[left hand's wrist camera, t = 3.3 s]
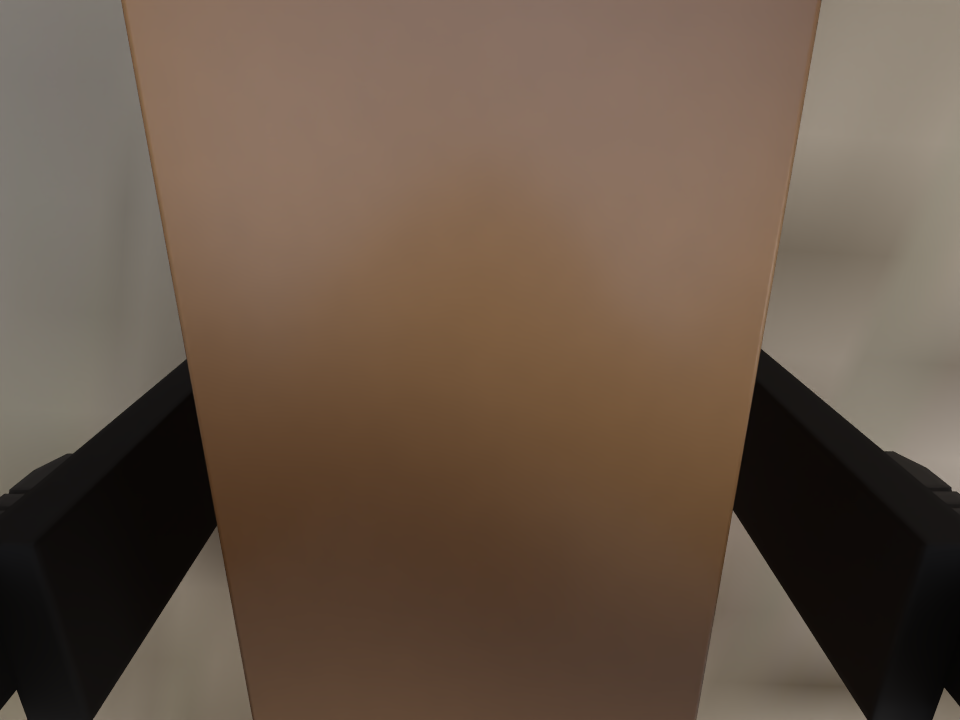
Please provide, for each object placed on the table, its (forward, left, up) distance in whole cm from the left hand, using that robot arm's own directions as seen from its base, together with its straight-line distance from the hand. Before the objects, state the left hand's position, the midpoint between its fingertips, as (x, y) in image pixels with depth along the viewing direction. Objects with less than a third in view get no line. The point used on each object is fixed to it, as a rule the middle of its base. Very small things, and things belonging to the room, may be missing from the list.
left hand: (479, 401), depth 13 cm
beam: (+4, +35, -1) cm, 35 cm away
